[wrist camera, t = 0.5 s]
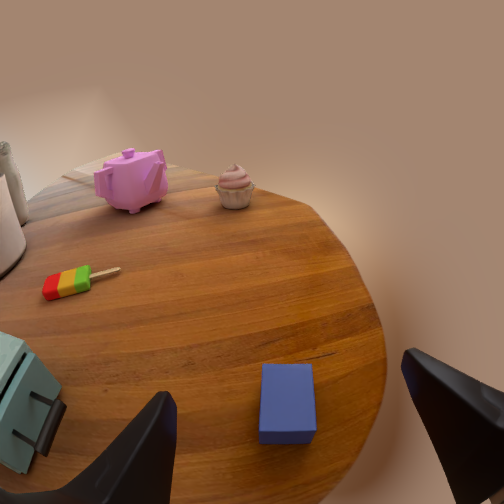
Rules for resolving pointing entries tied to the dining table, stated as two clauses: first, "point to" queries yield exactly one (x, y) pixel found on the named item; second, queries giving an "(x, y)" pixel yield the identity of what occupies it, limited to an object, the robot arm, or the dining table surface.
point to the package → (287, 404)
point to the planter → (9, 231)
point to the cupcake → (235, 188)
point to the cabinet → (10, 363)
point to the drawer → (29, 413)
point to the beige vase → (13, 182)
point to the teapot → (132, 180)
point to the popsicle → (71, 282)
